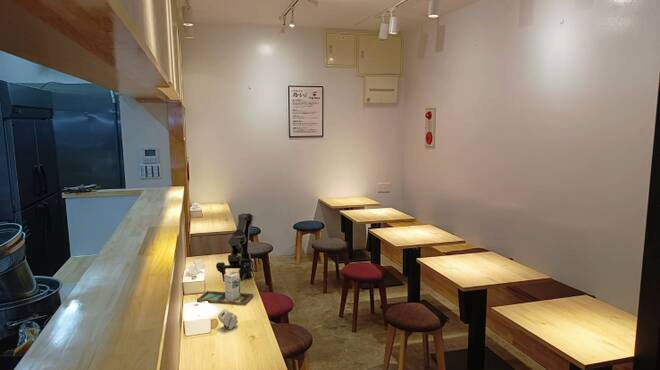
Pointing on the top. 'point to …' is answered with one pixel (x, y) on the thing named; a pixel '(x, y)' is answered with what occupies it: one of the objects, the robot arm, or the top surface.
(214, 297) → the brown rectangular tray
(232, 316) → the grey lumpy piece
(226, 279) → the syrup box
